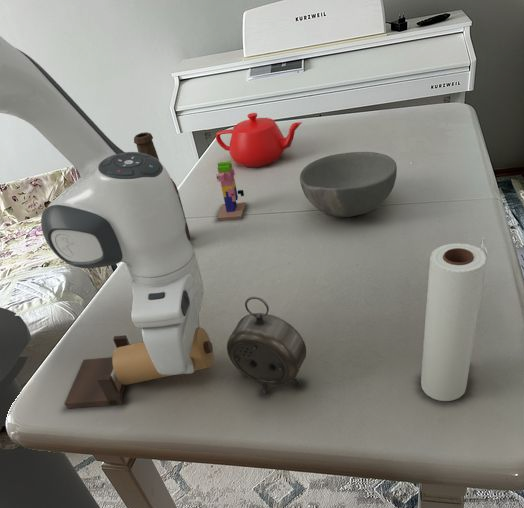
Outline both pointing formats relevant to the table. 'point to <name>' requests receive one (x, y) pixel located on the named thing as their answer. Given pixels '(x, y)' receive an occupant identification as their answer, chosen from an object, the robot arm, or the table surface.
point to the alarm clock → (266, 349)
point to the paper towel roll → (451, 318)
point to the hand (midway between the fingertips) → (193, 353)
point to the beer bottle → (147, 147)
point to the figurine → (229, 193)
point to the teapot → (257, 141)
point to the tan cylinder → (142, 368)
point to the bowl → (349, 182)
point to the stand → (97, 383)
